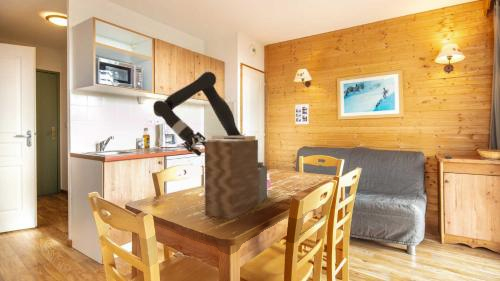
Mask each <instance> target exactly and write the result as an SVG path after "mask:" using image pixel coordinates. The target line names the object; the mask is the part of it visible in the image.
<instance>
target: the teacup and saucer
mask: <svg viewBox="0 0 500 281" xmlns="http://www.w3.org/2000/svg"><path fill="white" fill-rule="evenodd" d="M198 196H199V197H203V196H205V187H203V192H202V193H199V194H198Z"/></svg>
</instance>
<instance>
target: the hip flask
mask: <svg viewBox="0 0 500 281" xmlns="http://www.w3.org/2000/svg"><path fill="white" fill-rule="evenodd" d="M266 198H268V165H267V164H264V162H263V161H258V205H261V204H262V202H263V201H264V200H265V199H266Z"/></svg>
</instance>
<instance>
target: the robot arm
mask: <svg viewBox="0 0 500 281" xmlns="http://www.w3.org/2000/svg"><path fill="white" fill-rule="evenodd" d="M216 83H217V77H216V75H215V73H214V72H211V71H204V72H202V73H201V74H199V76H198V77H197V79H196V80H193V81H192V82H190V83H189V84H187V85H185V86H184V87H182V88H180V89H178V90H176V91H174V92H173V93H171V94H170V95H168V96H167V98H166V99H164V100H156V101H154V103H153V106H152V108H153V114H154V115H155V116H156V117H159V118H160V117H161V118H162V119H163V120H164V122H165V124H166V126H168V127H169V128H170V129H171V130H172V131H173V132H174V133H175V135H177V136H178V137H179V138H180V139H181V140H182V141H183V143H182V146H183V147H184V148H185V149H186V150H187V151H188V152H189V153H194V154H195V155H196V156H197V157H200V156H201V155H202V152H201V151H200V150H199V149H198V148H196V145H197V144H202V146H203V148H205V141H206V140H207V139H206V137H205V136H204V135H203V134H201V133H200V131H197V132H196V133H194V132H195V131H194V130H193V128H191V127H190V126H189V125H188V124H187V123H186V122H185V121H183V120H182V119H181V118H180V117H179V115H177V114H176V113H175V112H174V111H173V110H174V109H175V108H176V107H178V106H180V105H181V104H183V103H185V102H186V101H188V100H189V99H190V98H192V97H193V96H195V95H196V94H197V93H200V92H201V91H202V93H203V94H204V96H205V97H206V99H207V100H208V103H209V104H210V106H211V108H212V110H213V112H214V114H215V116H216V117H217V119H218V121H219V122H220V124H221V126H222V128H223V129H224V131H225V132H226V136H245V135H243V134H242V133H240V131H239V129H238V127H237V125H236V121H235V116H234V114H233V112H232V109H231V107H230V106H229V105H228V103H227V102H226V101H225V99H224V98H223V97H221V96H220V95H219V93H218V91H217V89H216V88H215V84H216Z"/></svg>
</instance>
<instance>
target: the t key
mask: <svg viewBox="0 0 500 281" xmlns="http://www.w3.org/2000/svg"><path fill="white" fill-rule="evenodd" d="M225 137H226V138H243V140H245V141H252V140H256V135H244V136H228V135H213V134H212V135H211V140H214V139H224V138H225Z"/></svg>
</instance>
